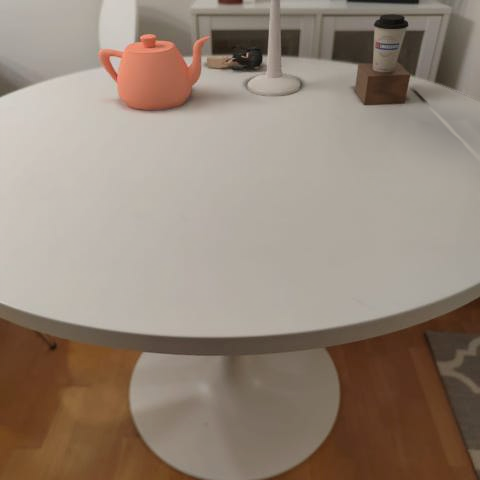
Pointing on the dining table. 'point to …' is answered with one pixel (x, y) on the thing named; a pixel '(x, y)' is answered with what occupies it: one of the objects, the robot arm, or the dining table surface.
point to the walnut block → (381, 85)
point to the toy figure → (238, 59)
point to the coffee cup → (388, 41)
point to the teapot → (153, 73)
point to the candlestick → (274, 63)
